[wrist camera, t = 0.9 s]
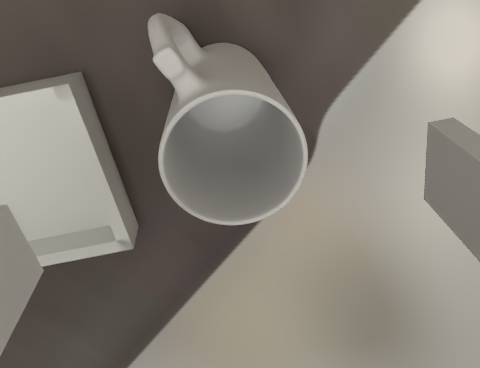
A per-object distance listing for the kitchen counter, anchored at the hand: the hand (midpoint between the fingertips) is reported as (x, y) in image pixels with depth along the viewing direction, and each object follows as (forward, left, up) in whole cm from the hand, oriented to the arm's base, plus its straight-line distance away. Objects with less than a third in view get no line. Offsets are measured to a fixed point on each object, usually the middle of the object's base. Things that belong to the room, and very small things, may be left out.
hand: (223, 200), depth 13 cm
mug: (0, 0, -18) cm, 18 cm away
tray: (-16, -5, -17) cm, 24 cm away
